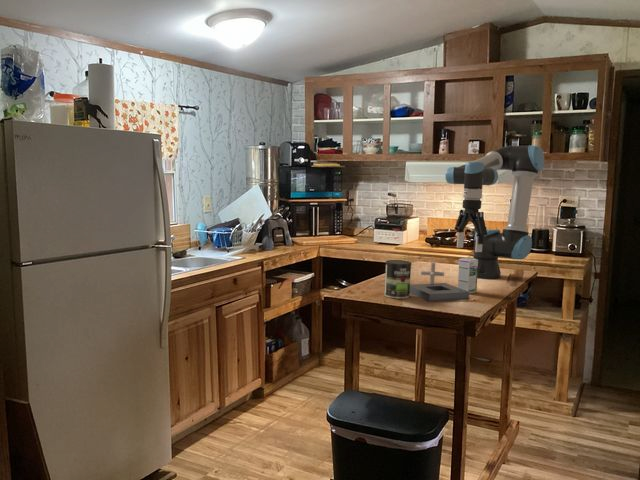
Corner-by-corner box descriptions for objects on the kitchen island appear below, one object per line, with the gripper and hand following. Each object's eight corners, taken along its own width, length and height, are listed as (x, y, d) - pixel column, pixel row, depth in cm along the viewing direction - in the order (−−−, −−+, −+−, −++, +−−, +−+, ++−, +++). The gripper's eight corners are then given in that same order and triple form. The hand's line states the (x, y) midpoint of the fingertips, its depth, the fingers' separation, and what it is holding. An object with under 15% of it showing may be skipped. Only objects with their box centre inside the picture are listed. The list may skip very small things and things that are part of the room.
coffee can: (414, 298, 220) (415, 263, 219) (390, 299, 217) (391, 264, 216) (403, 292, 230) (404, 259, 228) (380, 293, 227) (381, 260, 225)
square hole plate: (444, 289, 238) (445, 282, 237) (468, 299, 221) (469, 292, 220) (407, 291, 232) (408, 284, 232) (429, 301, 215) (429, 294, 215)
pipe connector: (443, 287, 242) (444, 265, 241) (420, 286, 244) (421, 263, 243) (443, 283, 252) (444, 261, 251) (421, 281, 254) (422, 260, 253)
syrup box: (467, 294, 230) (470, 260, 228) (456, 291, 235) (458, 258, 233) (476, 292, 234) (478, 259, 232) (465, 290, 238) (467, 257, 237)
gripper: (448, 197, 240) (445, 245, 242) (482, 200, 216) (478, 254, 219) (463, 197, 242) (460, 245, 245) (498, 201, 219) (494, 253, 221)
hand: (468, 249), depth 232 cm, fingers open, 13 cm apart
